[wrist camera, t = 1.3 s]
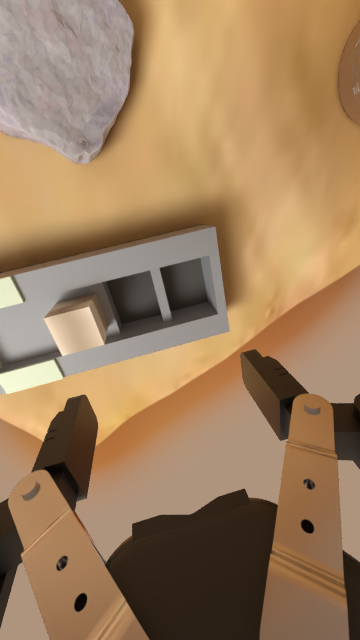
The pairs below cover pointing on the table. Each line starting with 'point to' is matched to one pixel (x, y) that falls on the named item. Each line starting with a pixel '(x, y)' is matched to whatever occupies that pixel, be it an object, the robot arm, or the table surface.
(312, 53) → the table surface
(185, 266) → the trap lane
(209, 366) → the table surface
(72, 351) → the cube
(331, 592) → the robot arm
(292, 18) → the table surface
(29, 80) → the stone block
